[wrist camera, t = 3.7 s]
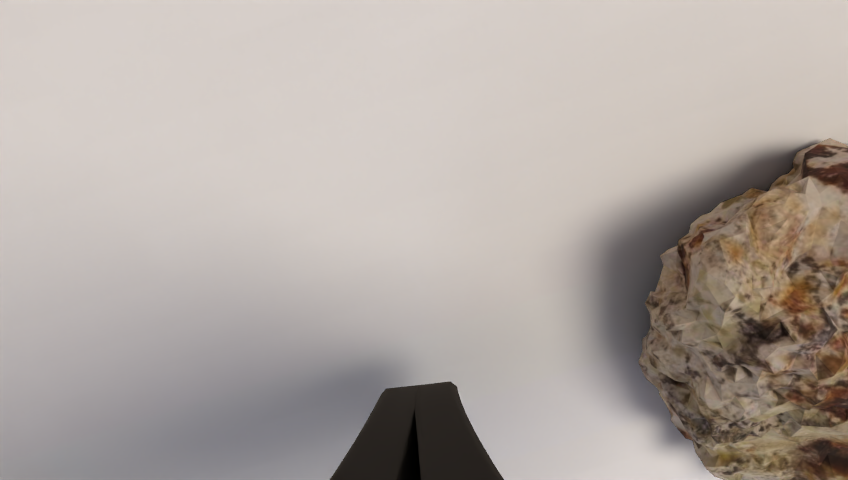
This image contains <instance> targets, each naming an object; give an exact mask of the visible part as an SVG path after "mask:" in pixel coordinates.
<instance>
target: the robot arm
mask: <svg viewBox="0 0 848 480" xmlns="http://www.w3.org/2000/svg"><path fill="white" fill-rule="evenodd" d="M330 480H504V479H503V478H502V476H501V475H500V473H499V472H498V470H497V468H496V467H495V465H494V464H493V462H492V460H491V459H490V457H489V455H488V454H487V452H486V450H485V449H484V447H483V445H482V444H481V442H480V440H479V438H478V437H477V435H476V433H475V431H474V429H473V427H472V425H471V423H470V421H469V419H468V417H467V415H466V413H465V410H464V408H463V406H462V403H461V400H460V397H459V394H458V390H457V386H456V385H454V384H453V383H452V382H443V383H434V384H425V385H416V386H407V387H398V388H389V389H386V390H385V391H384V392H383V393H382V394H381V396H380V398H379V400H378V401H377V403H376V405H375V407H374V409H373V411H372V413H371V414H370V416H369V418H368V420H367V421H366V423H365V425H364V427H363V428H362V430H361V432H360V433H359V435H358V437H357V438H356V440H355V442H354V443H353V445H352V446H351V448H350V450H349V451H348V453H347V454H346V456H345V457H344V459H343V461H342V462H341V464H340V465H339V467H338V468H337V470H336V471H335V473H334V474H333V476H332V477H331V479H330Z"/></svg>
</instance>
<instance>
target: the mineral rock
mask: <svg viewBox="0 0 848 480" xmlns="http://www.w3.org/2000/svg"><path fill="white" fill-rule="evenodd" d="M793 166H794V168H793V169H792V170H791V171H790V172H789V174H785V175H782V176H780V177H779V178H778V179H777V180H776V181H775V182H774V183H773V184H772V185H771V186H770V189H769V191H768V192H767V191H763V190H759V189H755V188H751V189H749V190H748V191H746V192H745V193H743V194H742V195H739V196H737V197H734V198H732V199H729V200H727V201H724V202H721V203H720V204H719V205H718V206H717V207H715V208H714V209H713V210H712V211H711V212H710V213H708V214H705V215H701V216H700V217H699V218H698V219H696V220H695V221H694V222H693V223H692V224H691V226H690V230H689V233H688V234H687V235H685V236H684V237H682V238H681V239H679V240H678V246H675V247H673V248H670V249H668V250H667V251H666V252H664V253H663V254H662V255H660V257H661V260H662V263H663V265H664V266H663V269H662V272H661V275H660V279H659V282H658V285H657V288H656V290H655V292H654V291H651V292H650V294H649V296H648V298H647V300H646V302H645V305H646V307H647V309H648V311H649V313H650V321H651V327H650V330H649V332H648V334H647V336H646V337H644V338H643V339H642V348H643V351H642V354H641V356H640V359H639V362H638V363H639V365H640V367H641V369H642V372H643V374H644V376H645V377H646V379H647V380H648V381H649V382H651V383H652V384H653V385H655V386H656V387H657V389H658V390H659V392H660V393H659V395H660V396H661V398H662V399H663V400H664V402H665V404H666V406H667V408H668V409H669V411H670V413H671V422H672V423H673V424H674V425H675V426H676V427H677V429H678V430H679V431H680V432H681V433H682V435H683V436H684V437H685V438H687V439H690V440H693V444H694V448H695V451H696V454H697V455H698V457H699V458H700V459H701V461H702V462H703V464H704V466H705V468H706V469H707V470H708V471H709V472H710V473H711V474H713V475H714V476H715V477H718V478H721V479H723V480H848V146H847V145H845V144H843V143H840V142H838V141H835V140H832V139H830V138H829V139H827V140H824V141H822V142H820V143H817V144H815V145H812V146H810V147H807V148H805V149H803V150H801V151H799V152H797V153H796V156H795V158H794V161H793Z"/></svg>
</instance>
